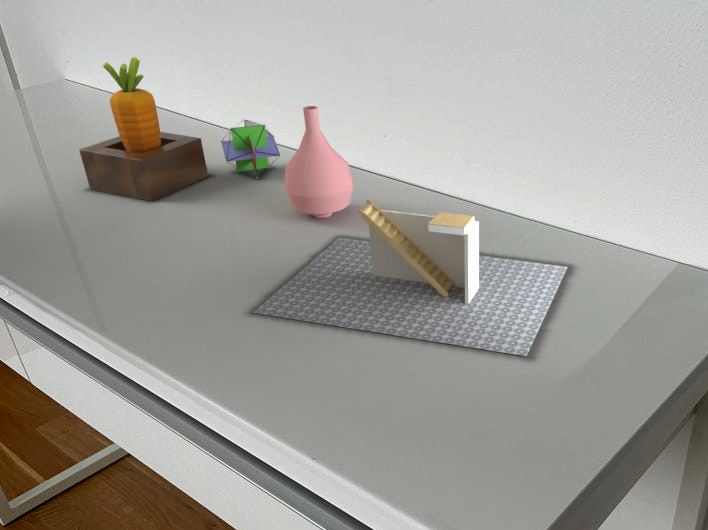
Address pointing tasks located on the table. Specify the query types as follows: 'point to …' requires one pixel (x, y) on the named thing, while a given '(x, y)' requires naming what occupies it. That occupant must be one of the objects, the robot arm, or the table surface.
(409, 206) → the table surface
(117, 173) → the hole block
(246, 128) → the geometric puzzle
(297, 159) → the pink vase
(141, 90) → the carrot
